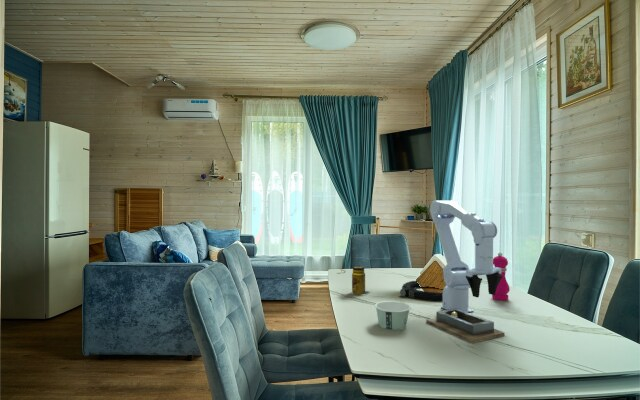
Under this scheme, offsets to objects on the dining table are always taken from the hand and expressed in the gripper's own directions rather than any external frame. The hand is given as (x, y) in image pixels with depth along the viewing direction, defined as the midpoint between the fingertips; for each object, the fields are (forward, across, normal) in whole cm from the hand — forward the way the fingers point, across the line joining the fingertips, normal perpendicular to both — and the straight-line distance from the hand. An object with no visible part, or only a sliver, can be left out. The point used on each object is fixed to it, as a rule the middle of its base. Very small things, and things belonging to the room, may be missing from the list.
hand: (483, 295), depth 128 cm
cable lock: (+10, +10, +39) cm, 42 cm away
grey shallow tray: (+8, -11, -2) cm, 14 cm away
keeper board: (+9, -11, -2) cm, 15 cm away
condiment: (+10, -20, +53) cm, 57 cm away
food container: (+10, -31, +10) cm, 34 cm away
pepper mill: (+10, +31, +20) cm, 38 cm away
